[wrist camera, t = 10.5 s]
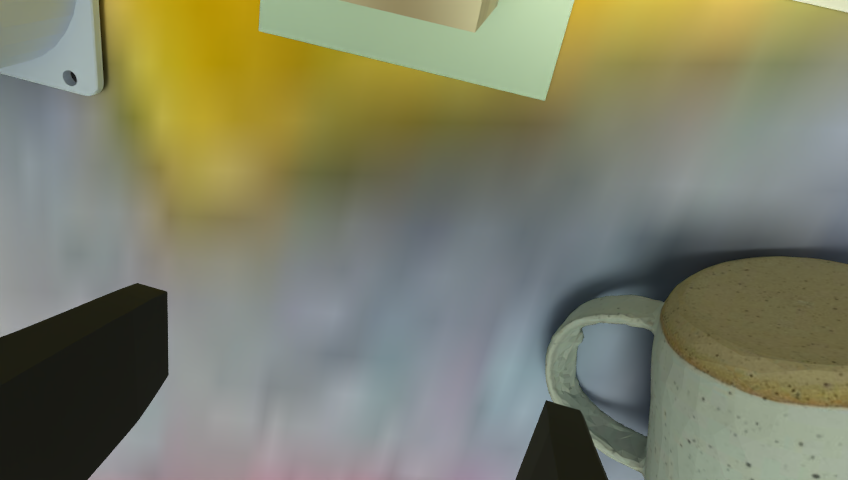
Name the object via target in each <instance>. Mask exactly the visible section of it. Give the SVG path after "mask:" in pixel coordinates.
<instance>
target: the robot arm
mask: <svg viewBox="0 0 848 480" xmlns="http://www.w3.org/2000/svg"><path fill="white" fill-rule="evenodd" d="M71 72H73V73H74V74H75V76H76V78H77V82H75V81H74V80H73V79H72V76H71ZM0 74H4V75H7V76H11V77H15V78H19V79H23V80H27V81H30V82H34V83H38V84H42V85H46V86H50V87H53V88H57V89H61V90H65V91H69V92H73V93H76V94H80V95H84V96H92V95H95V94H97V93H100V92H101V91H102V89H103V85H104V79H103V63H102V47H101V31H100V14H99V0H0ZM167 376H168V312H167V292H166V291H163V290H159V289H156V288H152V287H149V286H145V285H142V284H138V283H136V284H133V285H131V286H128V287H125V288H122V289H120V290H117V291H115V292H112V293H110V294H107V295H105V296H102V297H100V298H97V299H95V300H92V301H90V302H88V303H85V304H83V305H80V306H78V307H75V308H73V309H71V310H68V311H66V312H63V313H61V314H58V315H56V316H53V317H51V318H49V319H46V320H44V321H41V322H39V323H36V324H34V325H31V326H29V327H26V328H24V329H21V330H19V331H16V332H14V333H11V334H8V335H5V336H3V337H0V480H88V478H89V477H90V476H91V475H92V474H93V473H94V472H95V470H96V469H97V468H98V467H99V466H100V465H101V464H102V462H103V461H104V460H105V459H106V458H107V457H108V456H109V454H110V453H111V452H112V451H113V450H114V449H115V447H116V446H117V445H118V444H119V443H120V442H121V440H122V439H123V438H124V437H125V436H126V435H127V433H128V432H129V431H130V430H131V429H132V427H133V426H134V425H135V424H136V423H137V421H138V420H139V419H140V417H141V416H142V414H143V413H144V411H145V410H146V409H147V407H148V406H149V404H150V403H151V401H152V400H153V398H154V397H155V395H156V394H157V392H158V390H159V389H160V387H161V386H162V384H163V383H164V381H165V380H166V378H167ZM516 480H608V478H607V475H606V473H605V470H604V468H603V466H602V463H601V461H600V458H599V456H598V453H597V450H596V448H595V445H594V443H593V440H592V437H591V435H590V432H589V429H588V426H587V424H586V421H585V418H584V416H583V414H582V412H581V411H580V410H578V409H574V408H571V407H567V406H564V405H560V404H557V403H553V402H550V401H546V402H545V404H544V407H543V410H542V412H541V415H540V417H539V420H538V423H537V425H536V428H535V430H534V433H533V436H532V438H531V441H530V443H529V446H528V449H527V451H526V454H525V456H524V459H523V462H522V464H521V467H520V469H519V472H518V475H517V477H516Z"/></svg>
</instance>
